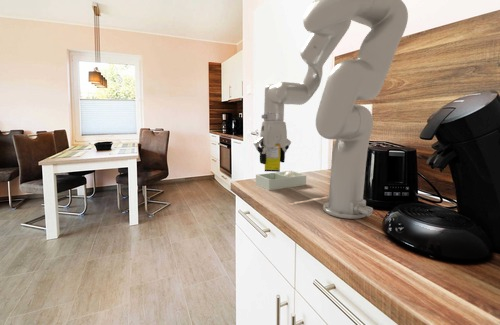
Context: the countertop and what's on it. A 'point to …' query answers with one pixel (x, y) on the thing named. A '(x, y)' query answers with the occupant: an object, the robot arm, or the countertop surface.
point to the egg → (289, 174)
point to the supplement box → (273, 159)
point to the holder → (280, 180)
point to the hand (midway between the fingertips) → (272, 162)
